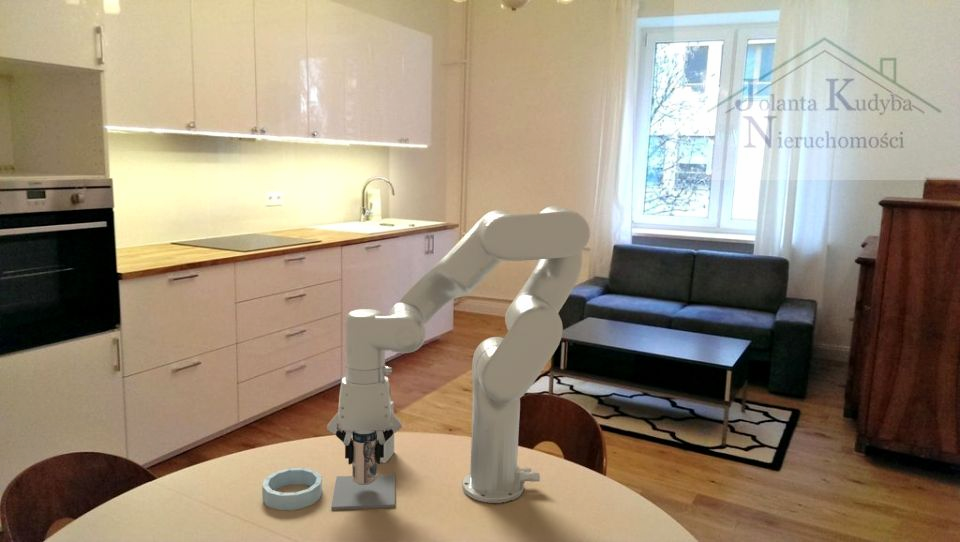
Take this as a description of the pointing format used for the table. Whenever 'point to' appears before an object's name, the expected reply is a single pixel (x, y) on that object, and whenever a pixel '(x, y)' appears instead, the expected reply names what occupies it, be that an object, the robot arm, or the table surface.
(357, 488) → the mat
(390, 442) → the skincare box
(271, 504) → the light blue ring
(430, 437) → the table surface
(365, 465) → the beer can
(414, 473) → the table surface
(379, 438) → the robot arm
